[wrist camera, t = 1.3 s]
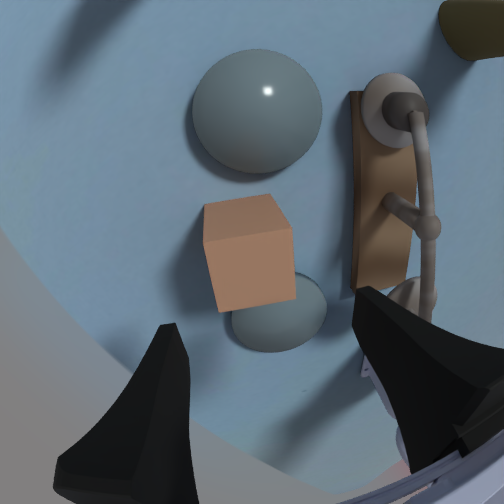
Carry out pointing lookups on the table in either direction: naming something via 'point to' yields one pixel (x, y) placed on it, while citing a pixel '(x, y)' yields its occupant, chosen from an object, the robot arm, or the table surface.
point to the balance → (393, 192)
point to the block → (249, 252)
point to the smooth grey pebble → (282, 319)
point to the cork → (473, 27)
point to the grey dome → (257, 111)
